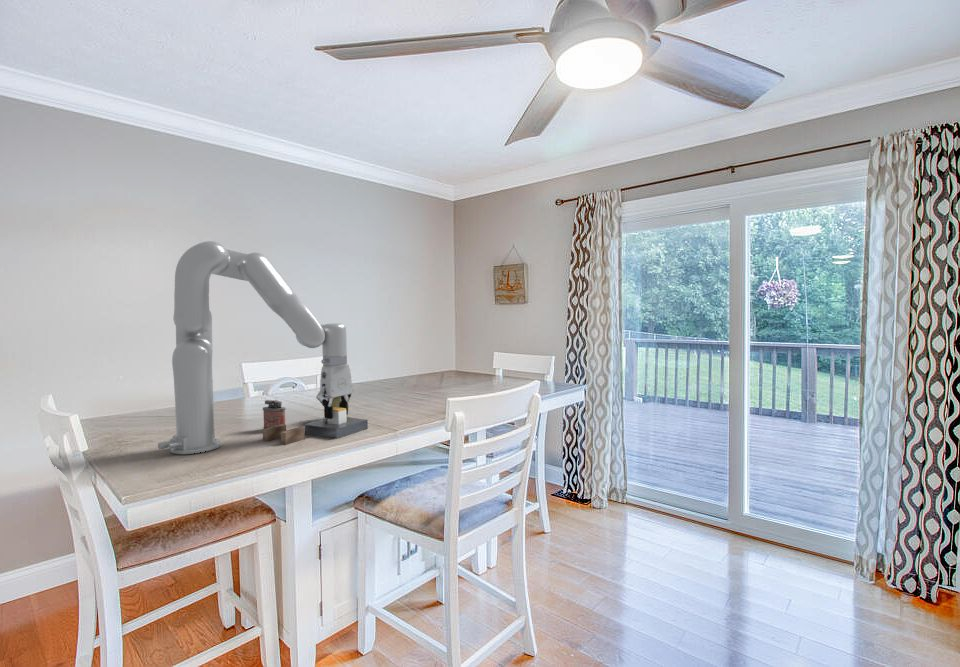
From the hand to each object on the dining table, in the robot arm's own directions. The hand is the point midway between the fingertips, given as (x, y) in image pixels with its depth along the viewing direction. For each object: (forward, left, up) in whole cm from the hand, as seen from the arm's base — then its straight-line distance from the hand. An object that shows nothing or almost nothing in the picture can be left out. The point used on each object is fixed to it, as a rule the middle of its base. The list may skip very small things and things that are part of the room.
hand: (336, 415), depth 157 cm
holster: (-15, +7, -5) cm, 17 cm away
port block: (0, 0, -5) cm, 5 cm away
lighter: (-8, +20, -5) cm, 22 cm away
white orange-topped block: (0, 0, -5) cm, 5 cm away
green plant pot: (+13, +12, -5) cm, 18 cm away
